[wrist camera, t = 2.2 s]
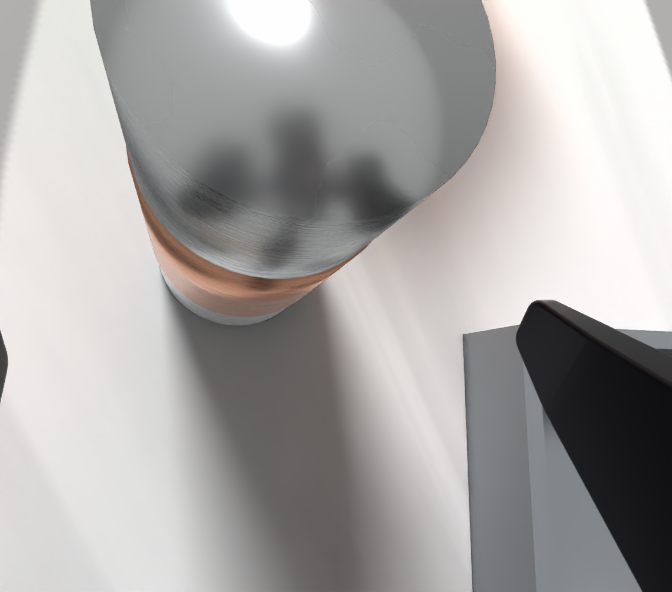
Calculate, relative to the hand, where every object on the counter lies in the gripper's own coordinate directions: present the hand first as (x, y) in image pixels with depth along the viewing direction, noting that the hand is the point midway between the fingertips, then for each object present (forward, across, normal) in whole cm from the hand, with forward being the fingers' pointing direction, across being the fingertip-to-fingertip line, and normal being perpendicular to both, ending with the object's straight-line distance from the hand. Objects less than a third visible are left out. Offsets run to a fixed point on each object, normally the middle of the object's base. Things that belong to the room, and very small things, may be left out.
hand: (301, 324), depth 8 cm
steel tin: (+11, 0, +5) cm, 12 cm away
